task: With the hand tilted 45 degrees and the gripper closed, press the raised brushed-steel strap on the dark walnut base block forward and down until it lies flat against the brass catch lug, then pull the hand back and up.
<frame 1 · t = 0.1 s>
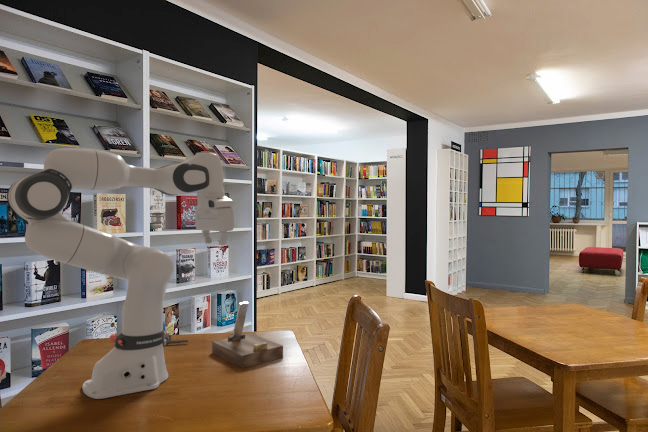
hand: (215, 244, 143), 39 cm above the table, tool pointing down, fingers open, 8 cm apart
strap: (240, 320, 154), point 11 cm above the table, hinge at 70.0°
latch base: (247, 355, 150), on the table
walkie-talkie: (161, 344, 163), on the table
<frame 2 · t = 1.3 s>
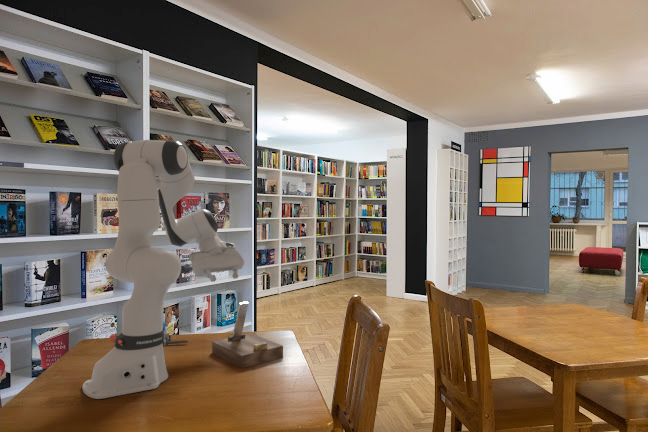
hand: (225, 279, 162), 24 cm above the table, tool tilted 45°, fingers open, 8 cm apart
nothing on the table moved.
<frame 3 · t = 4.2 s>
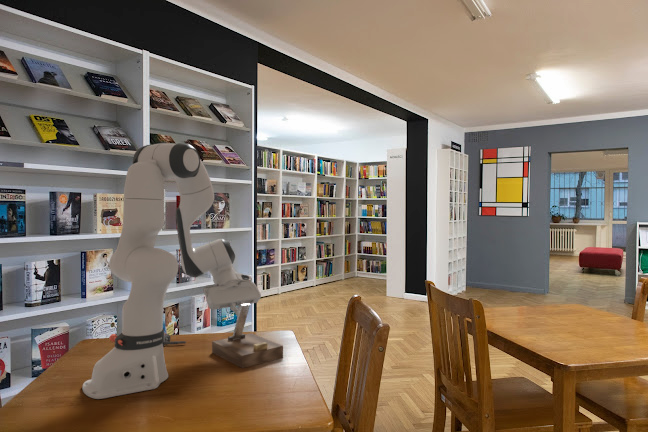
hand: (241, 314, 153), 13 cm above the table, tool tilted 45°, fingers closed, pressing on strap
strap: (240, 321, 153), point 11 cm above the table, hinge at 65.5°, touching gripper
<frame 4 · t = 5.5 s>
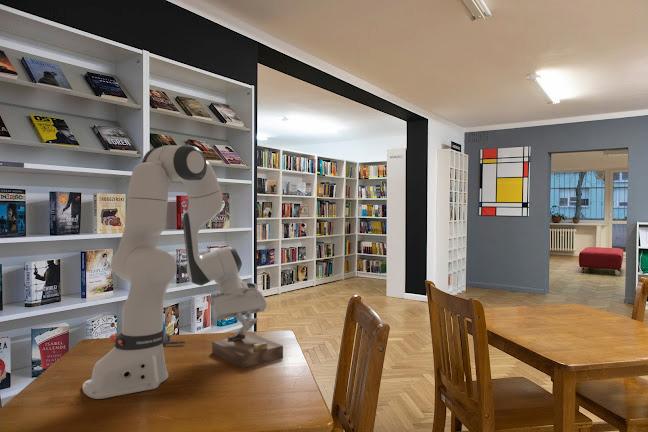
hand: (247, 324, 150), 11 cm above the table, tool tilted 45°, fingers closed, pressing on strap
strap: (244, 329, 151), point 9 cm above the table, hinge at 37.2°, touching gripper
everything else where it was.
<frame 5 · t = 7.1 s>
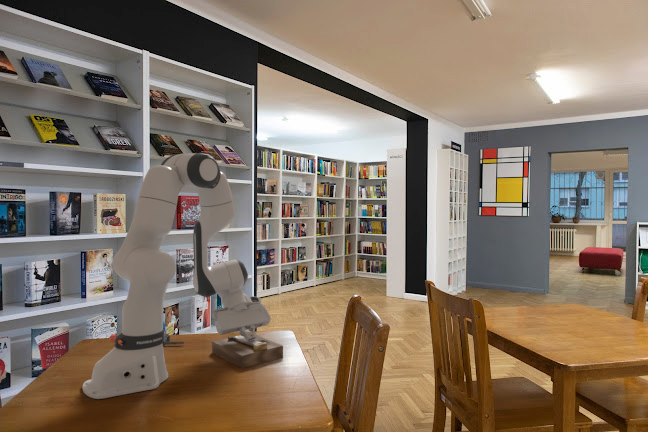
hand: (251, 339, 149), 6 cm above the table, tool tilted 45°, fingers closed, pressing on strap
strap: (246, 340, 150), point 5 cm above the table, hinge at 2.7°, touching gripper
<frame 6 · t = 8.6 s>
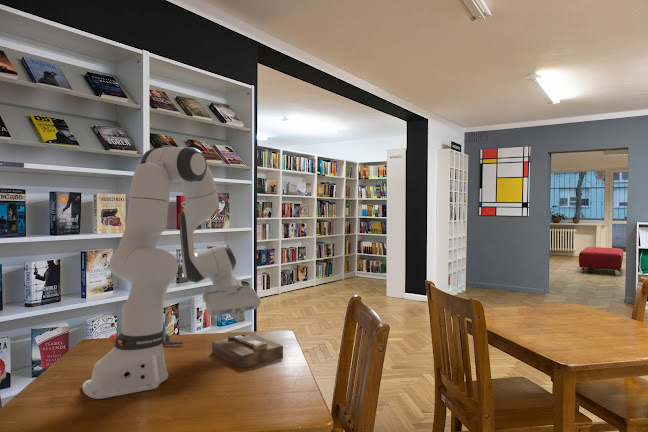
hand: (241, 321, 153), 11 cm above the table, tool tilted 45°, fingers closed
strap: (246, 340, 150), point 5 cm above the table, hinge at 2.6°
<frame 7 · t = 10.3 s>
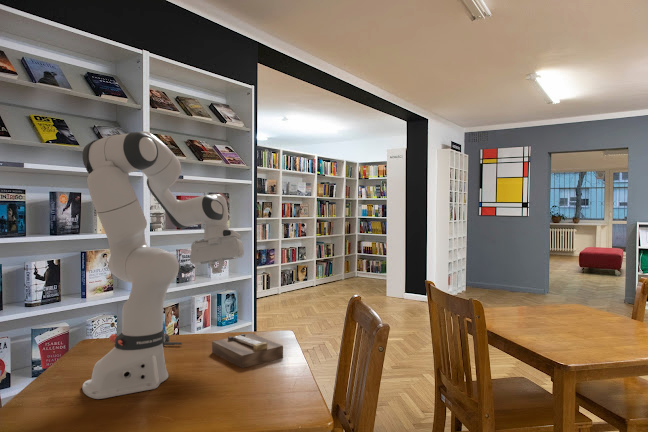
hand: (216, 273, 158), 27 cm above the table, tool tilted 20°, fingers closed
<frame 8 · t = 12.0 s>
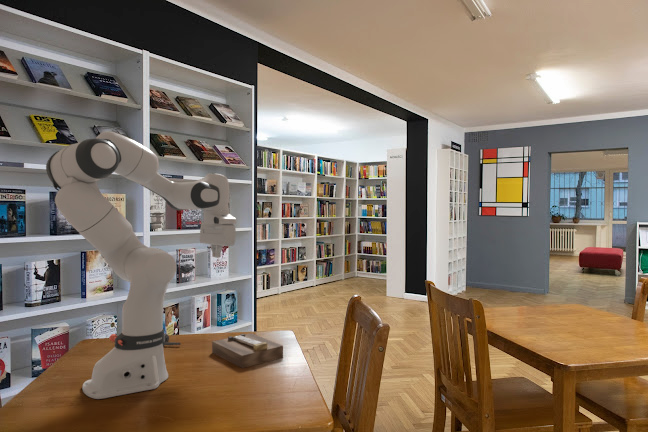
hand: (216, 257, 156), 33 cm above the table, tool pointing down, fingers closed
at the end: strap at +3° (first picture: +70°) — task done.
